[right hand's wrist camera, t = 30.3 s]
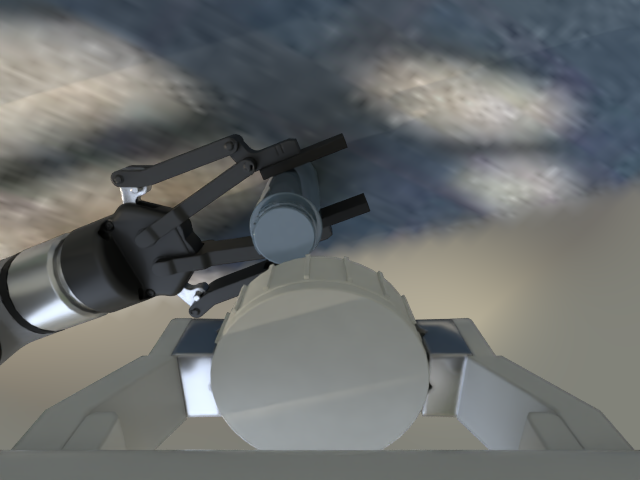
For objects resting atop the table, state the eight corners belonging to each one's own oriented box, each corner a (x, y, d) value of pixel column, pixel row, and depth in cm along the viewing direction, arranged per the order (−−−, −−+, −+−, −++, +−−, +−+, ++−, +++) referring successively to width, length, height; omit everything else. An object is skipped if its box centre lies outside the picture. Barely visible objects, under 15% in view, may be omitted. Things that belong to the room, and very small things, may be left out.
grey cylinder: (302, 147, 35) (297, 184, 20) (326, 187, 36) (337, 249, 22) (262, 171, 35) (229, 223, 21) (287, 210, 37) (272, 284, 22)
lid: (206, 263, 9) (182, 297, 8) (412, 241, 9) (432, 272, 8) (243, 420, 11) (230, 475, 9) (417, 405, 11) (434, 458, 9)
